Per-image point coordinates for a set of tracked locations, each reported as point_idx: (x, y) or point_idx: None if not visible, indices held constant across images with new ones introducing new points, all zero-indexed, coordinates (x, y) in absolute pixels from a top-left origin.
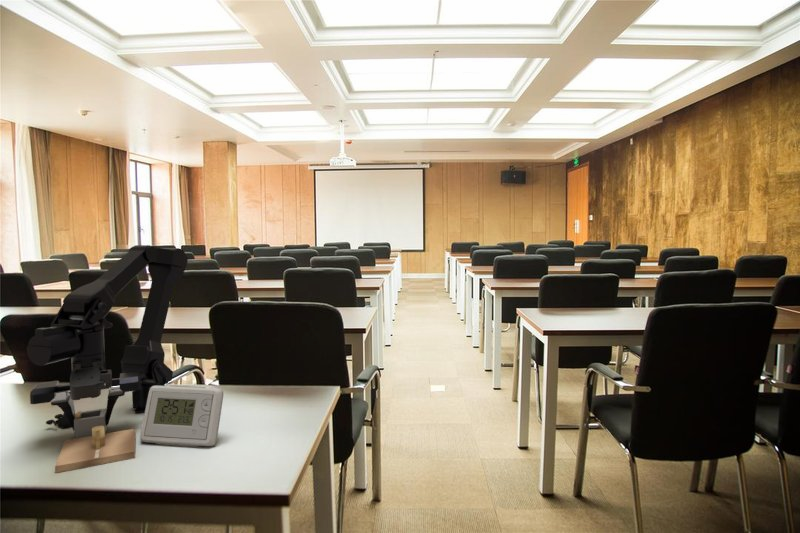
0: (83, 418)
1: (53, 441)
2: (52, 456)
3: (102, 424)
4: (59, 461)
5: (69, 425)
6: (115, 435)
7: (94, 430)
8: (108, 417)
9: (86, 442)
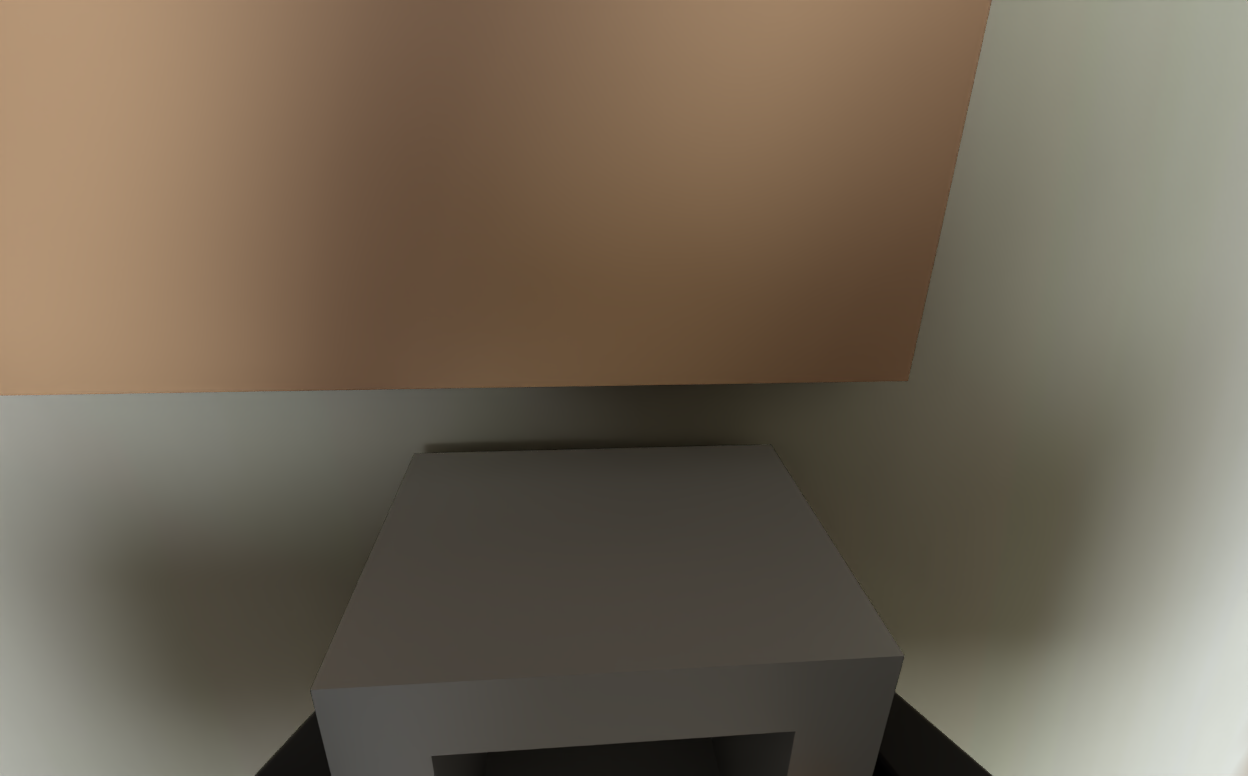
0: (731, 720)
1: (956, 557)
2: (1035, 49)
3: (405, 560)
4: None
5: None
6: (164, 210)
7: None
8: (319, 738)
9: (622, 109)
